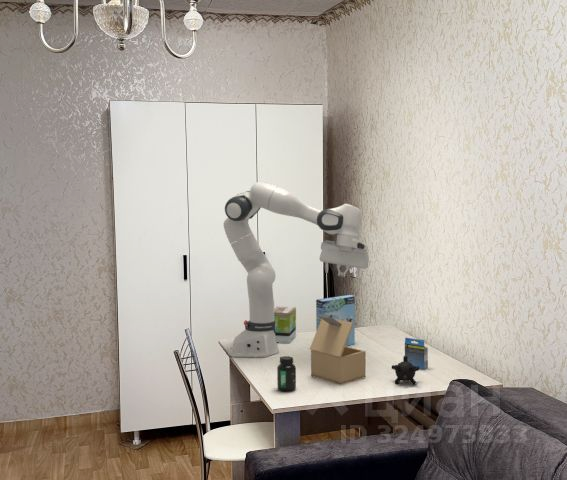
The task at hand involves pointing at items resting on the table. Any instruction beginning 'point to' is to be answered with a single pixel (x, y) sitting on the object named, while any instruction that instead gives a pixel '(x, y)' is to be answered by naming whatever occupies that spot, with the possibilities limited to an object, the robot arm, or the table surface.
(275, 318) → the tea box
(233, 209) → the robot arm
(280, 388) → the supplement bottle
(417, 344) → the label tape box
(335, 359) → the carton
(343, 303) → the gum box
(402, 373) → the toy ball
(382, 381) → the table surface
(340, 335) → the lid
